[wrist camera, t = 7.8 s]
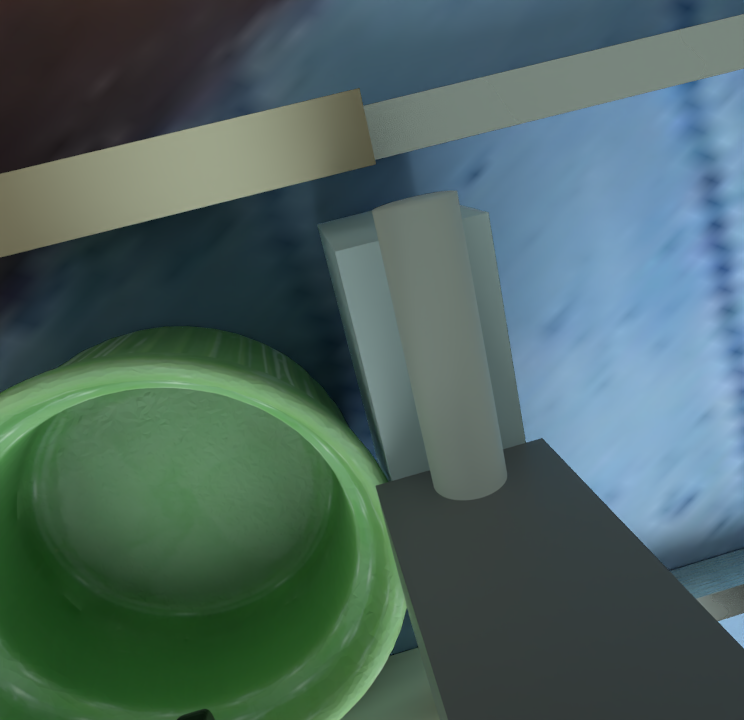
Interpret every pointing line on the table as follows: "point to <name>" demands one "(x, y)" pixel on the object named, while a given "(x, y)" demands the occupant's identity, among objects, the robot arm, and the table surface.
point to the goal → (349, 152)
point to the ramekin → (188, 538)
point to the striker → (503, 500)
